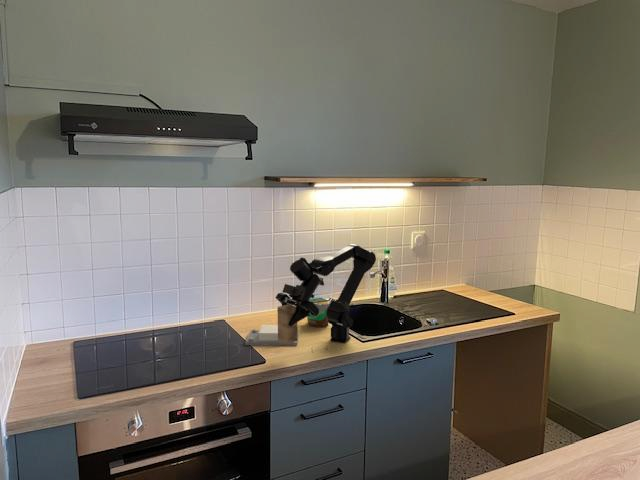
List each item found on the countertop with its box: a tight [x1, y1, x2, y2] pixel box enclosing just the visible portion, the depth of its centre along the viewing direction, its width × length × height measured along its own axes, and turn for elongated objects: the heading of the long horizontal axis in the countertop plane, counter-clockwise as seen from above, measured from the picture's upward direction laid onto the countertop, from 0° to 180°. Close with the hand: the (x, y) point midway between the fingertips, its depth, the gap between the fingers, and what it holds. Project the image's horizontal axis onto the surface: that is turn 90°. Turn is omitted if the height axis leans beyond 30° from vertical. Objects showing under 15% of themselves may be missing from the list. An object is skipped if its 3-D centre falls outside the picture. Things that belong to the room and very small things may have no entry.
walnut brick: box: [277, 304, 299, 344], centre depth 178 cm, size 5×5×12 cm
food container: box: [306, 302, 330, 328], centre depth 215 cm, size 12×6×10 cm, turn 62°
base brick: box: [244, 324, 300, 346], centre depth 199 cm, size 20×14×4 cm
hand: (284, 323), depth 177 cm, fingers closed on walnut brick, 5 cm apart
